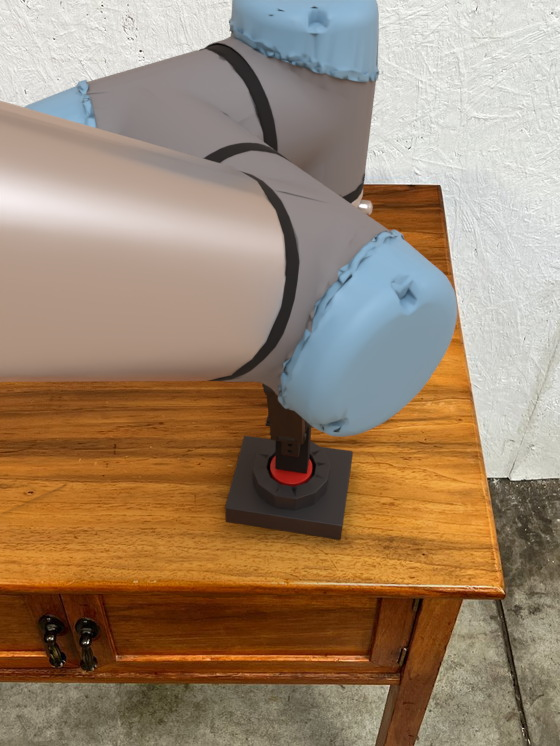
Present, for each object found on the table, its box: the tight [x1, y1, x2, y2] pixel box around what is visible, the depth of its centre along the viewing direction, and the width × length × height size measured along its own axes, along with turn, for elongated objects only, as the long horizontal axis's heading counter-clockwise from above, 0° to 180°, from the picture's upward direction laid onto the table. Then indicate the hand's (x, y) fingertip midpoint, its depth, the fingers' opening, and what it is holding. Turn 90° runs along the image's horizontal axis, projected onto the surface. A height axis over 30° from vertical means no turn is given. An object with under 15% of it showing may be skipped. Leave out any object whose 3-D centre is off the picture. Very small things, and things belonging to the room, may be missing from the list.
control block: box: [224, 435, 354, 541], centre depth 68 cm, size 10×8×4 cm
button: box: [270, 457, 312, 487], centre depth 67 cm, size 4×4×2 cm
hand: (292, 464), depth 66 cm, fingers closed
